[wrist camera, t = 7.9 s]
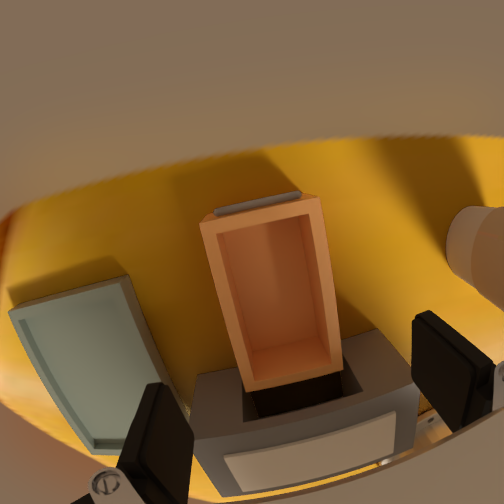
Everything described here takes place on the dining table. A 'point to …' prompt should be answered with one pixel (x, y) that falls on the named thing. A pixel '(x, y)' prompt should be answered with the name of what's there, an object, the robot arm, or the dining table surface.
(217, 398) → the bay housing
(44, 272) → the dining table surface
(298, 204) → the orange drawer
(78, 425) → the tray
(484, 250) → the coffee cup
